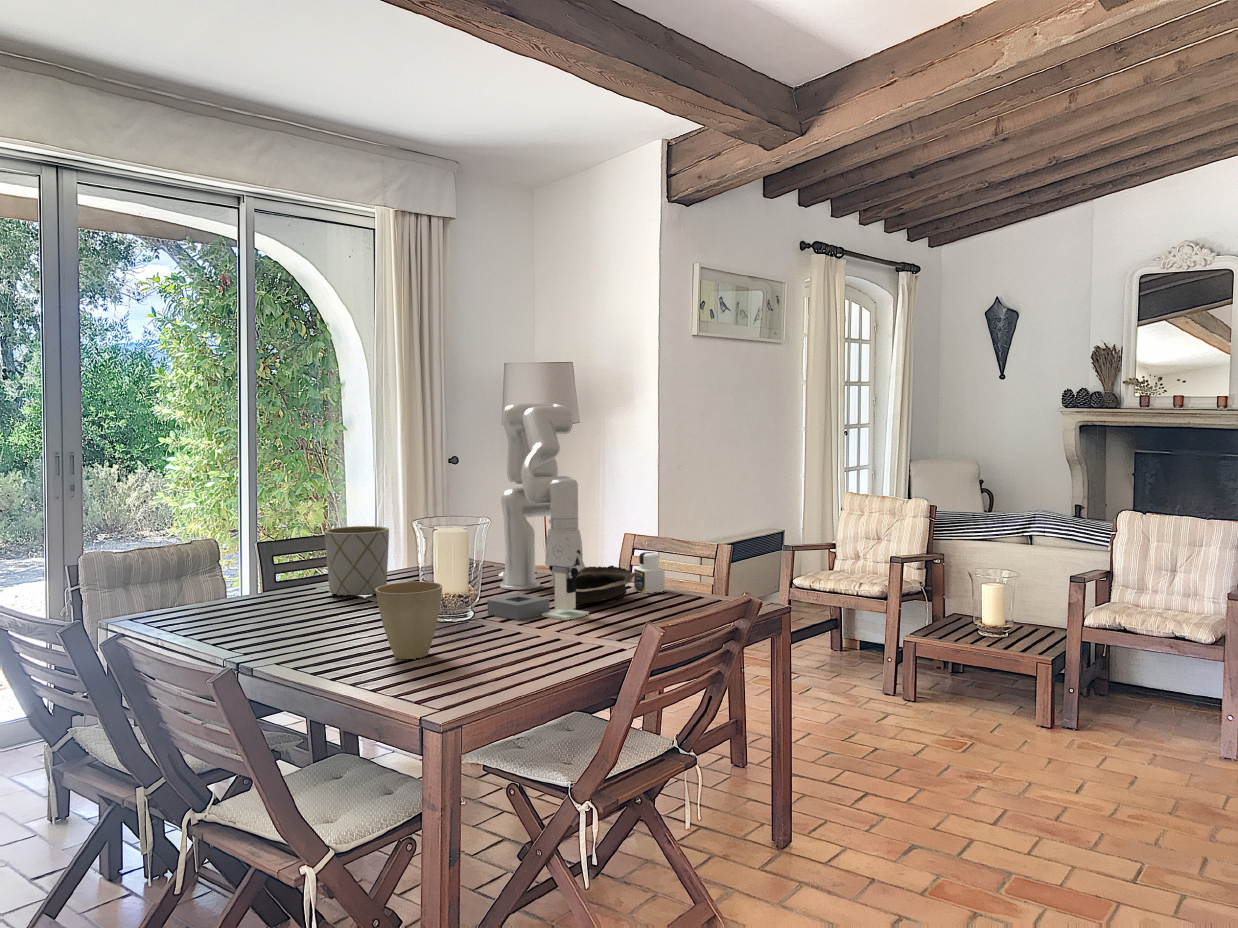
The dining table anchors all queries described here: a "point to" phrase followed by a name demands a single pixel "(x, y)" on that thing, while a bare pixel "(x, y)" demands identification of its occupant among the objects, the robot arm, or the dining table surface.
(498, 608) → the grey square ring
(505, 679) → the dining table surface
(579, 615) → the coaster
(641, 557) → the medicine bottle
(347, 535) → the planter
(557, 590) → the plug
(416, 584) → the plant pot
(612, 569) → the stone bowl
